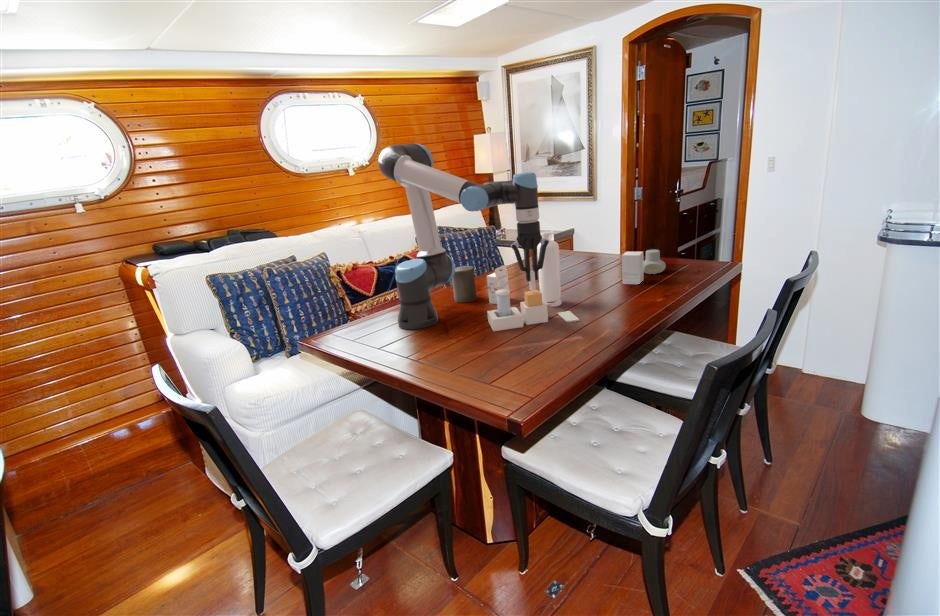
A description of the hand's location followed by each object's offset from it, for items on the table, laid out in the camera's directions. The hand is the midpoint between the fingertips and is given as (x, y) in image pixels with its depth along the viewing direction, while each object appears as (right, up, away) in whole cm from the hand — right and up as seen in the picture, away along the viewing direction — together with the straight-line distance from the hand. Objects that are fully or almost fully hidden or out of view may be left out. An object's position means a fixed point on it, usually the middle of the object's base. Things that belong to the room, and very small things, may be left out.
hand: (532, 289), depth 166 cm
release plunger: (+1, -9, +3) cm, 9 cm away
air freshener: (+60, +9, +49) cm, 78 cm away
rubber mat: (+11, -10, +5) cm, 15 cm away
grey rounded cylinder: (-9, -12, +2) cm, 15 cm away
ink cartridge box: (-9, -4, +33) cm, 34 cm away
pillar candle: (-24, -3, +40) cm, 46 cm away
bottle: (+10, -5, +22) cm, 25 cm away
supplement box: (+48, +4, +38) cm, 61 cm away
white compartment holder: (-4, -12, +3) cm, 13 cm away
